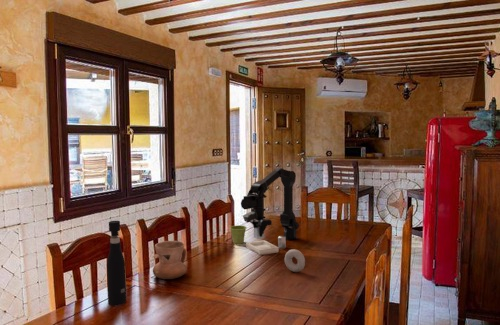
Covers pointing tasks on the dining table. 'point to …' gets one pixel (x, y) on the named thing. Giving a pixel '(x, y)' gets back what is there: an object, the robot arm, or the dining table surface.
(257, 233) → the painted block
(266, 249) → the parts tray
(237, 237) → the plant pot
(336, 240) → the dining table surface
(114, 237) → the black water bottle
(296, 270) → the donut
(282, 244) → the metal cylinder
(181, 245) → the ceramic jug
